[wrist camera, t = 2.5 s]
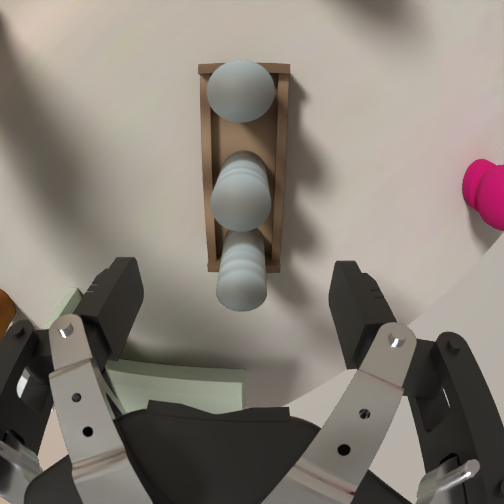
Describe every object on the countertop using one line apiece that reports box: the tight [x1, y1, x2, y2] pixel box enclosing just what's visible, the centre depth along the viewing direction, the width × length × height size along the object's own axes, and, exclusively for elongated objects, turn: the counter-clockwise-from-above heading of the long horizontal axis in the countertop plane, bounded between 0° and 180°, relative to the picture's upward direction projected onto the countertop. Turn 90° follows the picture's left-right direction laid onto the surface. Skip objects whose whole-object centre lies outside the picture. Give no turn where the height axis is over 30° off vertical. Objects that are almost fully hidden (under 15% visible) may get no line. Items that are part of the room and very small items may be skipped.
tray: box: [198, 60, 290, 311], centre depth 22 cm, size 19×7×9 cm, turn 179°
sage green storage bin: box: [44, 288, 245, 414], centre depth 32 cm, size 16×24×14 cm, turn 89°
